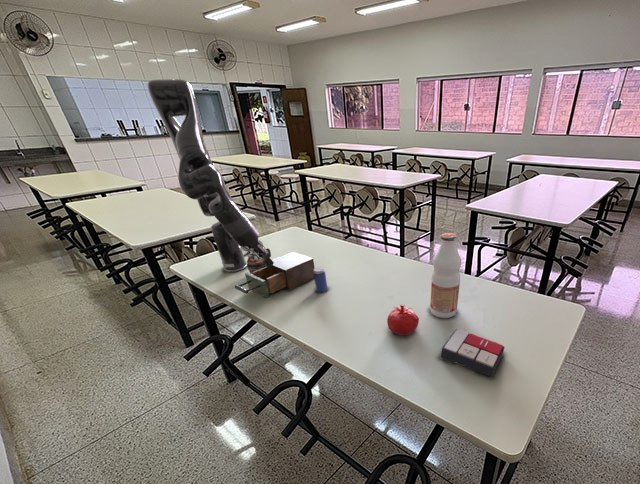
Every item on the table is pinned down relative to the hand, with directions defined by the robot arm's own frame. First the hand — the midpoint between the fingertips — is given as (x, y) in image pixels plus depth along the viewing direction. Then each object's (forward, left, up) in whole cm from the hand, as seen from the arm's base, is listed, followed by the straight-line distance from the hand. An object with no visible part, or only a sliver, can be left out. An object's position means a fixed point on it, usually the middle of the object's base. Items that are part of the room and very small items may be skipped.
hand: (270, 264), depth 112 cm
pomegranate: (+42, +28, -15) cm, 53 cm away
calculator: (+64, +37, -15) cm, 76 cm away
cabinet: (-13, +10, -14) cm, 22 cm away
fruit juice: (+41, +46, -15) cm, 63 cm away
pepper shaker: (+2, +16, -14) cm, 22 cm away
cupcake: (-26, 0, -15) cm, 29 cm away
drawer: (-9, -3, -13) cm, 16 cm away
